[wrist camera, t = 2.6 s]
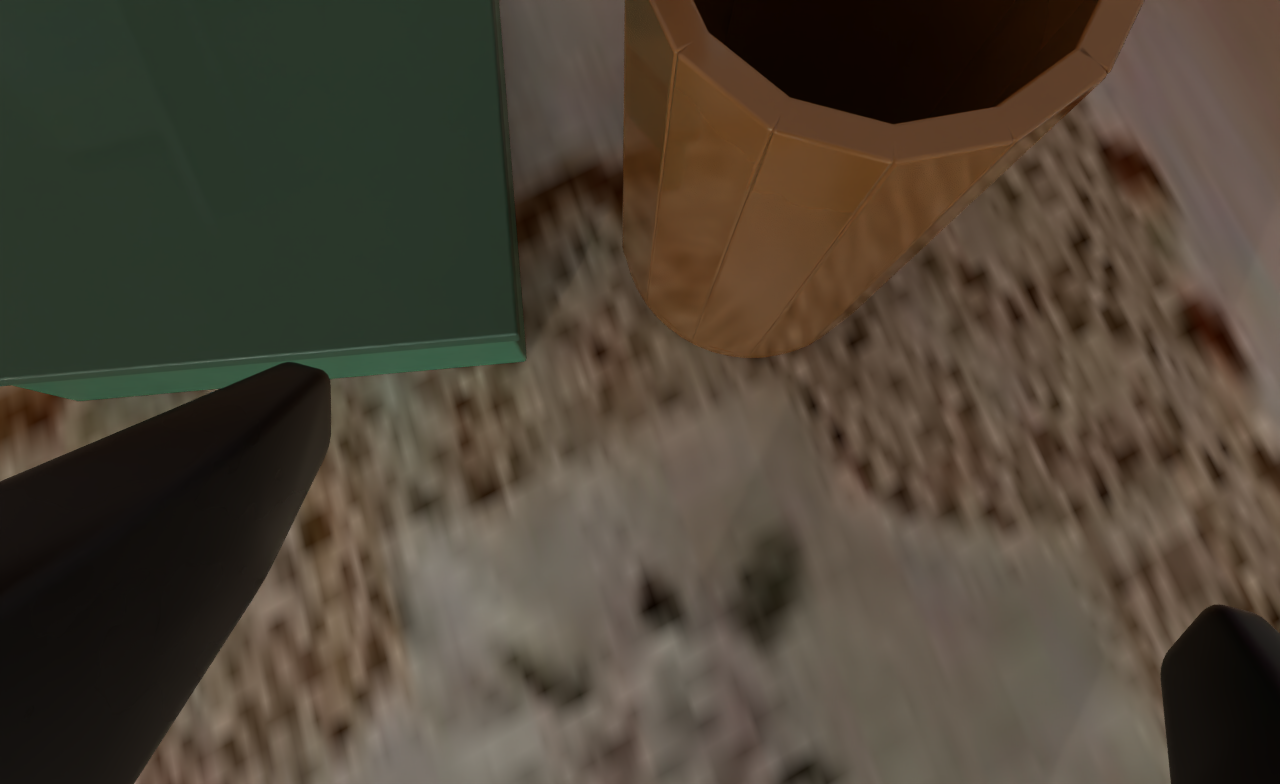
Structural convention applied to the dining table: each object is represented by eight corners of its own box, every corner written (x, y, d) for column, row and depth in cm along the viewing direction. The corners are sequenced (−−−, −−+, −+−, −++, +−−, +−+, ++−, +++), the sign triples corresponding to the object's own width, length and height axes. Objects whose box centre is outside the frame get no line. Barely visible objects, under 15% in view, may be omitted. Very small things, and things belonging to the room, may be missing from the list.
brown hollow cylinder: (767, 412, 23) (944, 272, 10) (569, 245, 23) (512, -78, 11) (926, 224, 24) (1264, -113, 11) (730, 67, 24) (847, -421, 12)
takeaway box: (535, 369, 23) (518, 334, 19) (68, 410, 22) (-51, 385, 18) (502, -51, 24) (480, -164, 20) (67, -20, 24) (-42, -128, 20)
